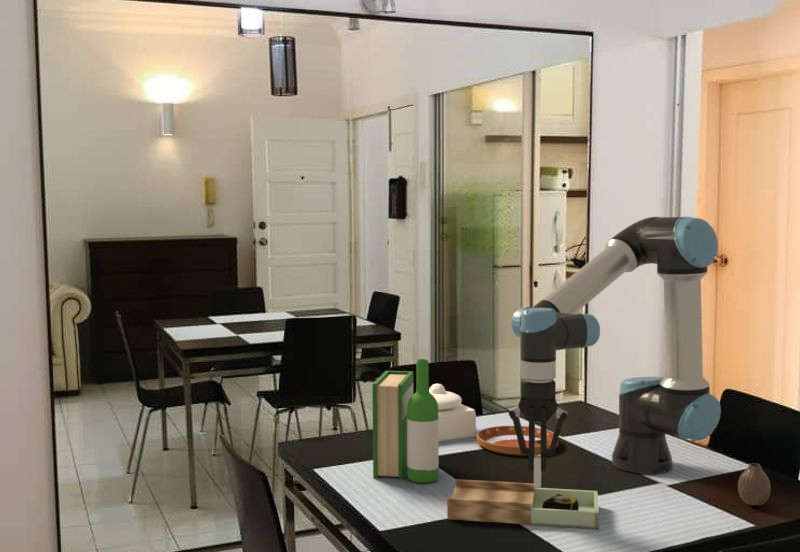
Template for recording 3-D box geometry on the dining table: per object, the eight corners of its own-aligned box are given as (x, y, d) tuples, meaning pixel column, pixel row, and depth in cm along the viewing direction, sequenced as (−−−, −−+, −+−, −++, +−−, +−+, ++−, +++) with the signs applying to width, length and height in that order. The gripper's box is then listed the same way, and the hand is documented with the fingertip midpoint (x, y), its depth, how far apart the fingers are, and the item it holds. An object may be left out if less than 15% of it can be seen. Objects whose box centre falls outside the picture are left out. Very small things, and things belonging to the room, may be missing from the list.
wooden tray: (534, 502, 201) (534, 483, 201) (531, 524, 188) (531, 503, 187) (456, 498, 205) (456, 479, 205) (447, 519, 191) (447, 498, 191)
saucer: (571, 444, 252) (571, 431, 251) (538, 464, 233) (538, 450, 232) (498, 433, 264) (498, 421, 264) (462, 451, 245) (462, 438, 245)
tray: (597, 506, 199) (597, 491, 199) (598, 529, 185) (598, 513, 184) (534, 502, 202) (534, 487, 201) (531, 525, 187) (531, 508, 187)
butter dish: (421, 447, 249) (421, 392, 248) (395, 432, 266) (395, 380, 264) (476, 440, 256) (476, 386, 255) (447, 426, 273) (447, 375, 272)
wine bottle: (407, 474, 223) (407, 357, 221) (438, 474, 223) (438, 357, 221) (406, 484, 215) (406, 362, 213) (438, 484, 215) (438, 362, 213)
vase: (767, 509, 196) (768, 471, 196) (734, 504, 200) (735, 466, 199) (772, 500, 202) (773, 463, 201) (740, 495, 206) (741, 458, 205)
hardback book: (402, 480, 219) (401, 384, 217) (373, 478, 220) (372, 383, 218) (413, 460, 236) (413, 371, 234) (386, 459, 237) (385, 370, 236)
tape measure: (540, 498, 191) (541, 515, 191) (569, 503, 187) (569, 521, 187) (555, 489, 197) (555, 506, 197) (583, 495, 192) (583, 512, 193)
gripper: (568, 376, 194) (567, 481, 196) (509, 375, 197) (509, 478, 199) (568, 383, 187) (567, 492, 189) (506, 381, 190) (506, 488, 192)
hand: (537, 485), depth 194 cm, fingers closed
